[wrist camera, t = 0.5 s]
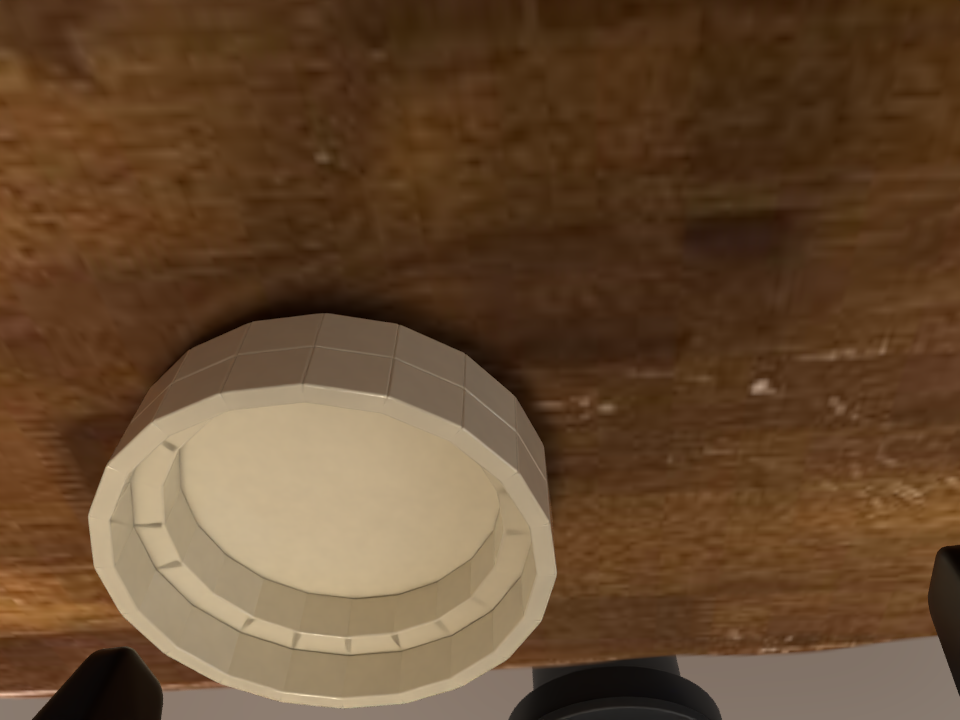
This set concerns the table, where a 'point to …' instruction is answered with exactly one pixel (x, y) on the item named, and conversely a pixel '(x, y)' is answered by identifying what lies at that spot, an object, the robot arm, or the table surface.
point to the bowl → (328, 514)
